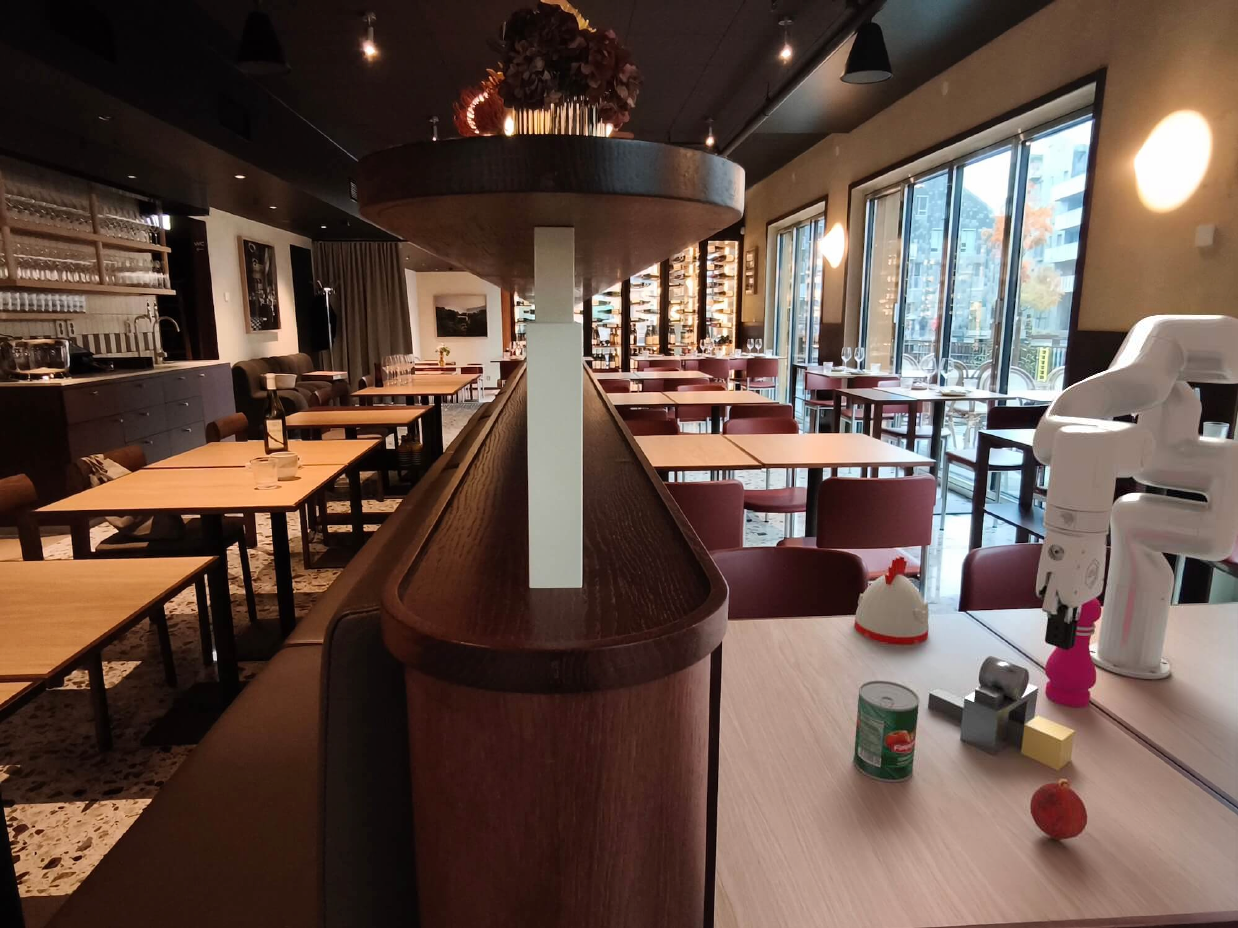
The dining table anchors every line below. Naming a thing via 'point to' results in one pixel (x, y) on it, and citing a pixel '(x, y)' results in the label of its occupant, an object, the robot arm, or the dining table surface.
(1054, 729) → the yellow tipped gray bar
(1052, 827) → the red rounded piece
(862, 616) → the kitchen timer
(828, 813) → the dining table surface
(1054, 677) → the pepper mill
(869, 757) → the canned tomato
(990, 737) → the block
